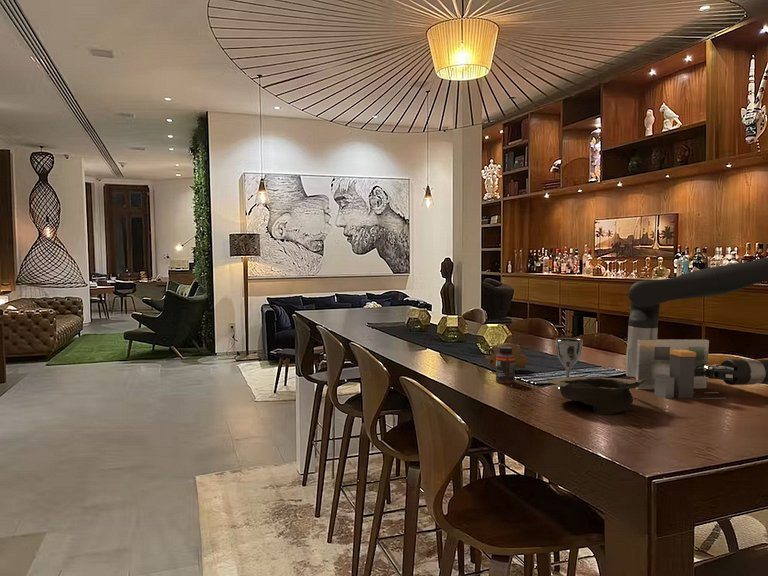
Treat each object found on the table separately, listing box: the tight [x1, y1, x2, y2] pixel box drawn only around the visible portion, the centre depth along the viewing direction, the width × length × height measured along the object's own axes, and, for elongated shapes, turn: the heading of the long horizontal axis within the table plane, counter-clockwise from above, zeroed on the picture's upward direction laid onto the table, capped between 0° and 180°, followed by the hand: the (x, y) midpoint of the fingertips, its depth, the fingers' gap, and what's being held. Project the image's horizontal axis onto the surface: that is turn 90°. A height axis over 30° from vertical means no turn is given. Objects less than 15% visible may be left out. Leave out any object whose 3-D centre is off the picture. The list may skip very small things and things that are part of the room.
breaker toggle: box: [669, 350, 696, 399], centre depth 167 cm, size 5×5×13 cm
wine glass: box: [554, 337, 583, 390], centre depth 180 cm, size 8×8×15 cm
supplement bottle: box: [495, 347, 516, 385], centre depth 186 cm, size 6×6×11 cm
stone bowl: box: [547, 376, 646, 415], centre depth 158 cm, size 25×25×9 cm
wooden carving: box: [484, 342, 530, 370], centre depth 206 cm, size 16×5×10 cm, turn 108°
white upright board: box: [635, 339, 725, 400], centre depth 170 cm, size 23×15×16 cm
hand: (688, 372), depth 167 cm, fingers closed
